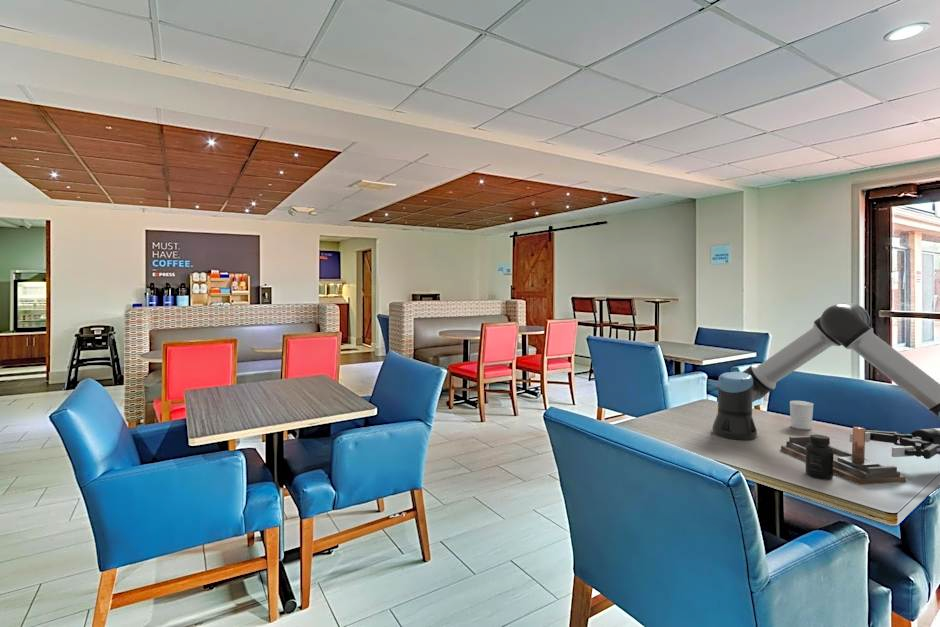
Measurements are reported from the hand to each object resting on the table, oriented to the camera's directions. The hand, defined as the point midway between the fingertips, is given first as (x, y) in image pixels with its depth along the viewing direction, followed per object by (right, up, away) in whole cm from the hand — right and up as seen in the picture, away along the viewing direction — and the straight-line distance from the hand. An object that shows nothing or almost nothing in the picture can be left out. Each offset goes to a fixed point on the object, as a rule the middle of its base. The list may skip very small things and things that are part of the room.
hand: (870, 444), depth 147 cm
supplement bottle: (-17, -9, -1) cm, 19 cm away
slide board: (-4, -8, +8) cm, 12 cm away
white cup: (+12, -6, +49) cm, 51 cm away
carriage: (-3, -7, +1) cm, 8 cm away
